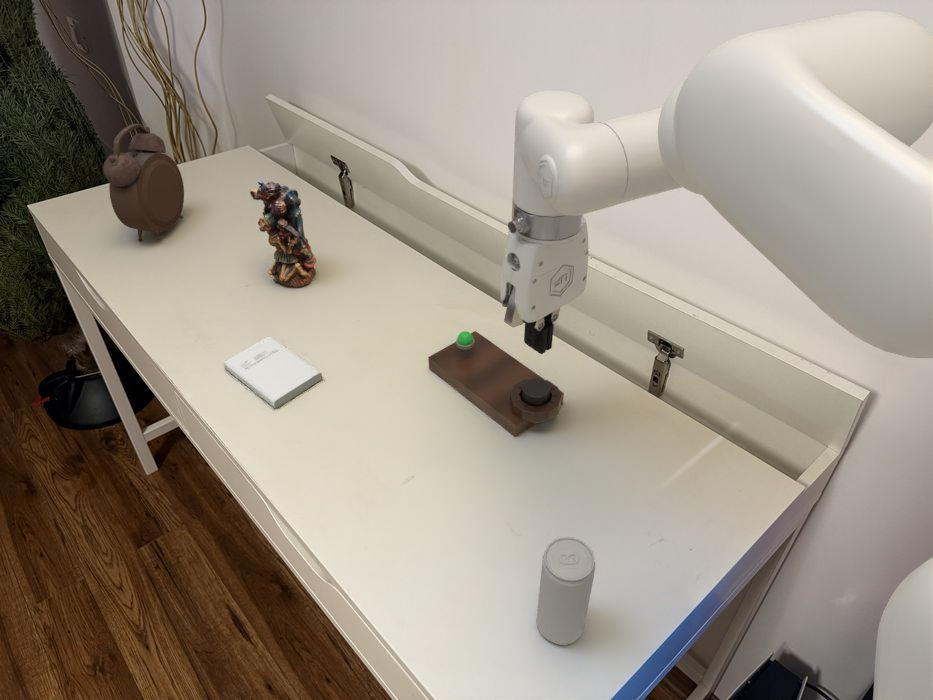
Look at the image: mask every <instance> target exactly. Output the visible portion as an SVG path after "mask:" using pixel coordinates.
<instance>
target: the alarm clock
mask: <svg viewBox="0 0 933 700" xmlns="http://www.w3.org/2000/svg"><path fill="white" fill-rule="evenodd" d="M134 129H138V130H139V131H140V132H139V133H137V134H135V135H134V136H132V138H131V140H130V144H129V146H128V147H127V150H128V151H127V152H121V141H122V140H123V139H124V137H125V136H126V135H127V134H129V133H130V132H132V131H133V130H134ZM112 149H113V153H112V154H110V155H109V156H107V158H106V159H105V161H104V163H103V166H102V169H103V174H104V176H105V178H106V180H107V181H108V182H109V187H108V188H109V199H110V203H111V207H112V209H113V211H114V214H115V215H116V217H117V219H118V220H119V221H120V223H122V224H123V225H124V226H126V227H127V228H129V229H132V230H137V235H138V238H137V240H138V242H142V241H143V238H142V237H143V232H151V233H156V234H157V241H161V240H162V237H161V232H163V233H164V232H168V231H170V230H171V229H172V228H173V227H175V225H176V224H177V223H178V221H179V219H180V220H182V219H184V218H183V215H181V214H182V212H183V208H184V202H185V187H184V181H183V176H182V173H181V170H180V168H179V166H178V165H177V163H176V162H175V161H174V159H173V158H172V157H171V156H169V155H168V154H166V153H167V150H166V144H165V142H164V140H163V139H162V137H160V136H159V135H157V134H156V133H152V132H151V129H150V126H146V127H145V126H144V125H143V124H140V123H133V124H129V125H127V126H126V127H124V128H123V129H121V130H120V131H119V132H118V134H116V136H115V137H114V139H113V148H112Z"/></svg>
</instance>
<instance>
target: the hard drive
mask: <svg viewBox="0 0 933 700" xmlns="http://www.w3.org/2000/svg"><path fill="white" fill-rule="evenodd" d="M223 366H224V369H225V370H226V371H228V372H229V373H230V374H231V375H233V376H234V377H235V378H236V379H237V380H239V381H240V382H241V383H243V384H244V385H245V386H246V387H248V388H249V389H250V390H251V391H252V392H253V393H255V394H257V395H258V396H259V397H261V399H263V400H264V401H265V402H267V404H269V405H270V406H271V407H273V408H274V409H279V408H281V407H282V406H284V405H285V404H287V403H289V402H290V401H291V400H293V399H295V398H296V397H297V396H300V395H301V394H303V393H304V392H305V391H307V390H309V389H310V388H311V387H313V386H315V385H317V384H318V383H319V382H321V381H322V380H323V373H322V372H321V371H320V370H319V369H317V368H316V367H314V366H313V365H312V364H310V363H308V362H307V361H306V360H304V359H303V358H301V357H300V356H298V354H296V353H295V352H293V351H292V350H291V349H289V348H287V347H286V346H284V345H283V344H282V343H280V342H279V341H278V340H276V339H274V338H273V337H272V336H266V337H265V338H263V339H261V340H259V341H258V342H256V343H254V344H252V345H251V346H248V347H246V348H245V349H243V350H242V351H240V352H238V353H236V354H235V355H232V356H231V357H229V358H227V359H226V360H225V361H223Z"/></svg>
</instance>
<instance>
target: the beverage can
mask: <svg viewBox="0 0 933 700" xmlns="http://www.w3.org/2000/svg"><path fill="white" fill-rule="evenodd" d="M595 559H596V558H595V556H594V552H593V550H592V549H591V547H590V546H589V545H588V544H587V543H586V542H584V541H583V540H581V539H579V538H576V537H572V536H562V537H561V536H560V537H558V538H556V539H555V538H554V540H552V541H551V542H549V544H548V545H547V546H546V548H545V550H544V552H543V555H542V561H541V569H540V581H539V588H538V589H539V590H538V591H539V592H538V600H537V609H536V610H537V611H536V626H537V630H538V631H539V633H540V634H541V635H542V636H543V637H544V638H545V639H547V640H548V642H551V643H553V644H556V645H560V646H565V645H570V644H573V643H575V642H576V641H578V640H579V639H580V638H581V636H582V635H583V633H584V629H585V627H586V620H587V615H588V610H589V609H588V608H589V604H590V599H591V593H592V588H593V582H594V577H595V572H596V561H595Z"/></svg>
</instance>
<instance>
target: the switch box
mask: <svg viewBox="0 0 933 700" xmlns="http://www.w3.org/2000/svg"><path fill="white" fill-rule="evenodd" d="M470 333H471V334H472V336H473V338H474V341H475V344H474V346H473V347H472V348H471V349H467V350H463V349H460V348H458V347H457V345H456V341H454V342H452V343H450V344H449V345H447V346H445V347H444V348H441V349H440V350H438V351H437V352H435V353H433V354H431V355H429V356H428V357H427V358H428V369H429V370H430V371H431V372H432V373H434V374H436V376H438V378H441V380H442V381H444V382H445V383H446V384H447V385H449V386H450V387H452V389H454V390H455V391H457V392H458V393H459V394H461V396H463V397H464V398H465V399H467V400H468V401H469V402H471V403H472V404H473V405H474V406H476V407H477V408H478V409H479V410H480V411H482V412H483V413H484V414H485V415H486V416H488V417H489V418H490V419H492V421H494V422H495V423H497V424H498V425H499V426H500V427H502V428H503V429H505V431H507V432H508V433H510V434H511V435H512V436H513V437H514V438H515V437H516V438H517V437H518V436H519V435H521V434H522V433H523V432H525V431H527V430H528V429H529V428H531V427H532V426H534V425H535V424H539V423H545V422H549V421H550V420H552V419H553V418H555V417H557V416H558V415H559V412H560V409H561V406H563V403H564V395H565V393H564V391H561V390H560V389H559V387H558V386H557V385H555V384H554V383H553V382H551V381H549V380H548V379H545V378H543V377H542V376H541V375H539V374H538V373H536V372H535V371H533V370H532V369H530V368H529V367H528V366H526V365H525V364H523V363H522V362H521V361H519V360H517V359H516V357H513V356H512V355H510V354H509V353H507V351H504V350H503V349H502V348H500V347H499V346H498V345H497V344H495V343H493V341H490V340H489V339H488V338H486V337H485V336H483V335H482V334H481V333H479V332H478V331H476V330H474V331H472V332H470ZM533 378H538V379H542V380H544V381H546V382H547V383H548V384H549V386H550V397H549V401H548V402H547V403H546V404H545V405H543V406H538V407H534V406H530V405H528V404H526V403H525V402H524V401H523V399H522V386H523V384H524V382H525V381H527V380H529V379H533Z"/></svg>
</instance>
